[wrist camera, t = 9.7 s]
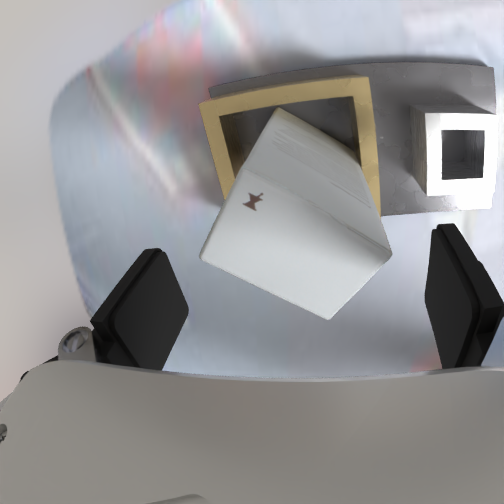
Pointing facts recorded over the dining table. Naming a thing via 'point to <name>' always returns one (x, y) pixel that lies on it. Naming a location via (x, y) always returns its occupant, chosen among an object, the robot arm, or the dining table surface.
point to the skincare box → (299, 219)
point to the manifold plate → (376, 127)
